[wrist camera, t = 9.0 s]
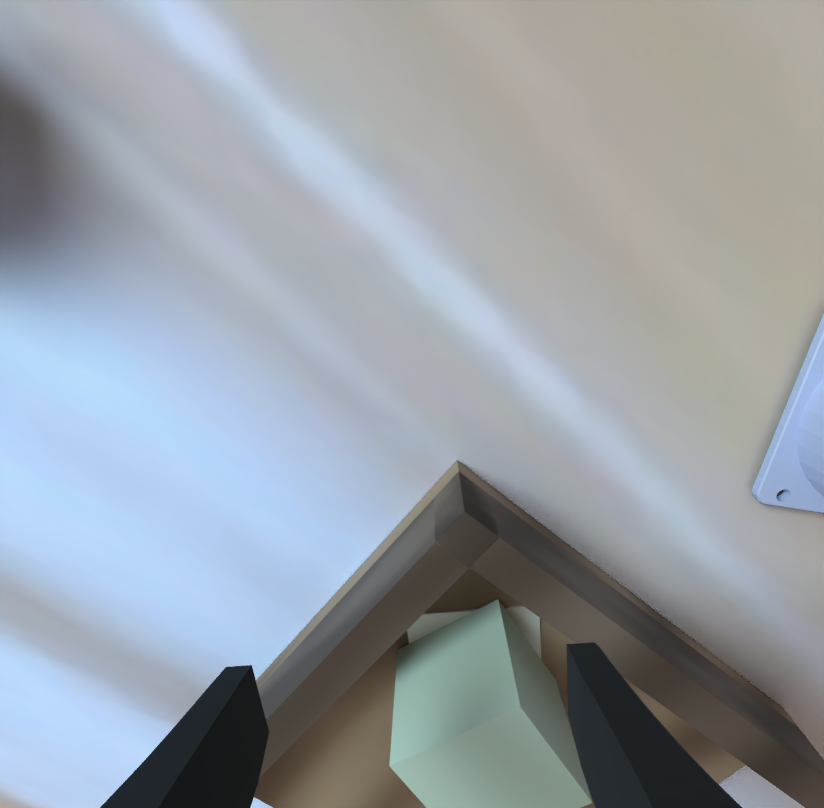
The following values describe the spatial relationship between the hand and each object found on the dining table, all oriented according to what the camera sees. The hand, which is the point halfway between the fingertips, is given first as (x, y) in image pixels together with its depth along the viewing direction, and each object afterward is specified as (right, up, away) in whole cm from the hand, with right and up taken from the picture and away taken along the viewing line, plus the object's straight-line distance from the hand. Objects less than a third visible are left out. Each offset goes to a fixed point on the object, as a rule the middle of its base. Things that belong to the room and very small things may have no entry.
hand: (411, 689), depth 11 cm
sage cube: (+3, -5, +10) cm, 12 cm away
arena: (+3, -9, +13) cm, 16 cm away
